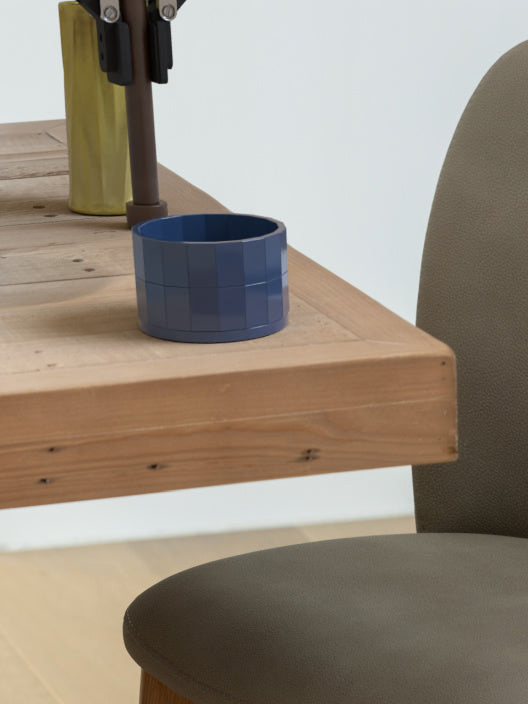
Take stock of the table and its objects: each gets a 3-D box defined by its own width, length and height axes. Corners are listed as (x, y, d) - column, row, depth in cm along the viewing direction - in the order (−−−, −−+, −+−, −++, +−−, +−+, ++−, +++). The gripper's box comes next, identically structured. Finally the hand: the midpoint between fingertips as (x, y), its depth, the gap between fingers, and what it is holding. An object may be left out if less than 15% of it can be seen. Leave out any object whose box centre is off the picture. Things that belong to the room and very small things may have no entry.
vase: (66, 217, 110) (48, 5, 105) (70, 200, 115) (53, -1, 110) (154, 214, 111) (141, 5, 106) (154, 199, 117) (141, -1, 111)
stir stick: (156, 231, 106) (140, -4, 100) (119, 228, 106) (101, -5, 101) (175, 223, 108) (161, -6, 103) (139, 220, 109) (123, -8, 103)
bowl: (252, 348, 80) (247, 248, 78) (110, 334, 82) (102, 236, 80) (312, 311, 87) (309, 218, 85) (180, 299, 89) (174, 208, 87)
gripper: (5, -230, 90) (35, 96, 97) (258, -218, 98) (270, 83, 105) (-28, -224, 96) (3, 82, 103) (213, -213, 104) (227, 71, 111)
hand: (137, 80), depth 104 cm, fingers closed on stir stick
